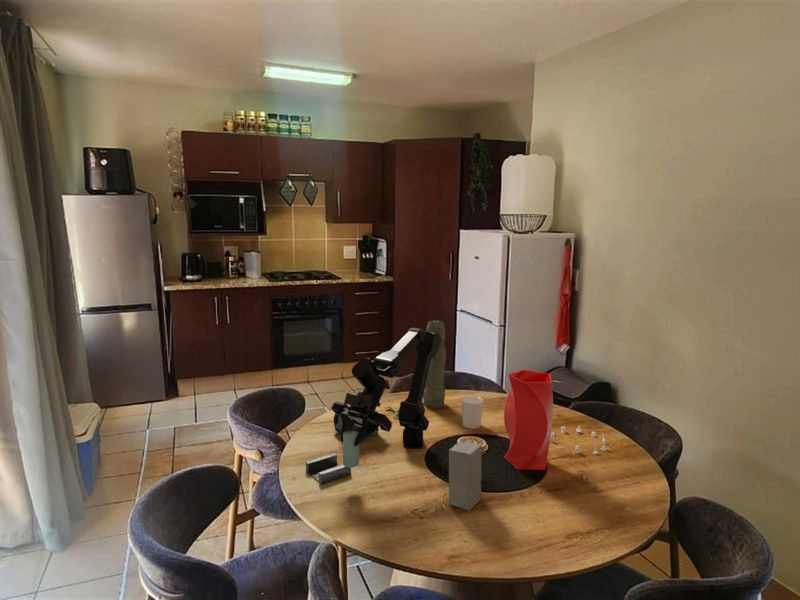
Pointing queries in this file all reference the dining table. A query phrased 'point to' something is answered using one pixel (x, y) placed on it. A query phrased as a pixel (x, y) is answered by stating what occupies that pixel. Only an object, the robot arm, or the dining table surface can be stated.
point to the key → (393, 410)
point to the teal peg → (350, 449)
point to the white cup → (472, 411)
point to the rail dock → (327, 469)
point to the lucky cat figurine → (357, 421)
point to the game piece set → (578, 445)
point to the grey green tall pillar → (436, 370)
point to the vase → (529, 419)
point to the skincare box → (465, 474)
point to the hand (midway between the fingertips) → (347, 443)
